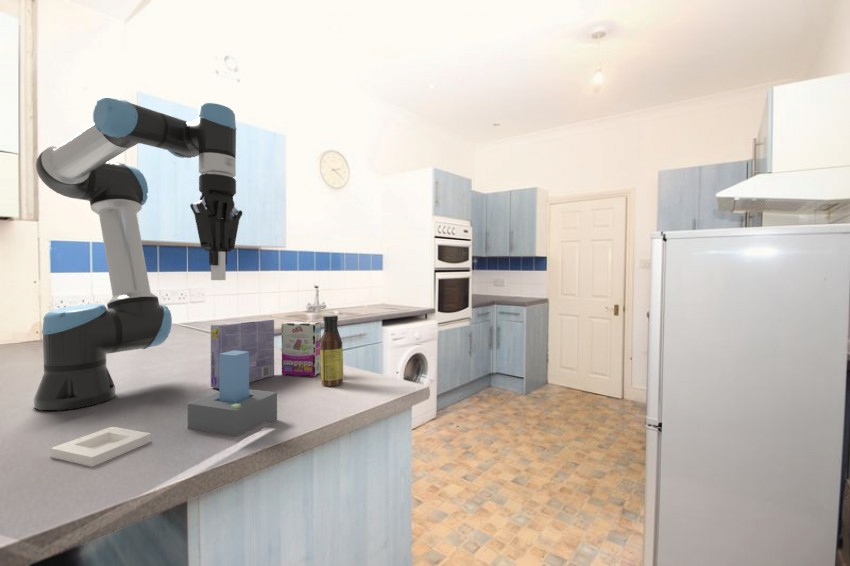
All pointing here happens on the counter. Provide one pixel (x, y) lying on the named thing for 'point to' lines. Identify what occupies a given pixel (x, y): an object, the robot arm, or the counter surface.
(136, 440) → the holster
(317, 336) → the candy bar box
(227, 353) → the plug
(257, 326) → the cake pan box
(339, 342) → the sauce bottle
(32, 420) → the counter surface
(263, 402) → the port
